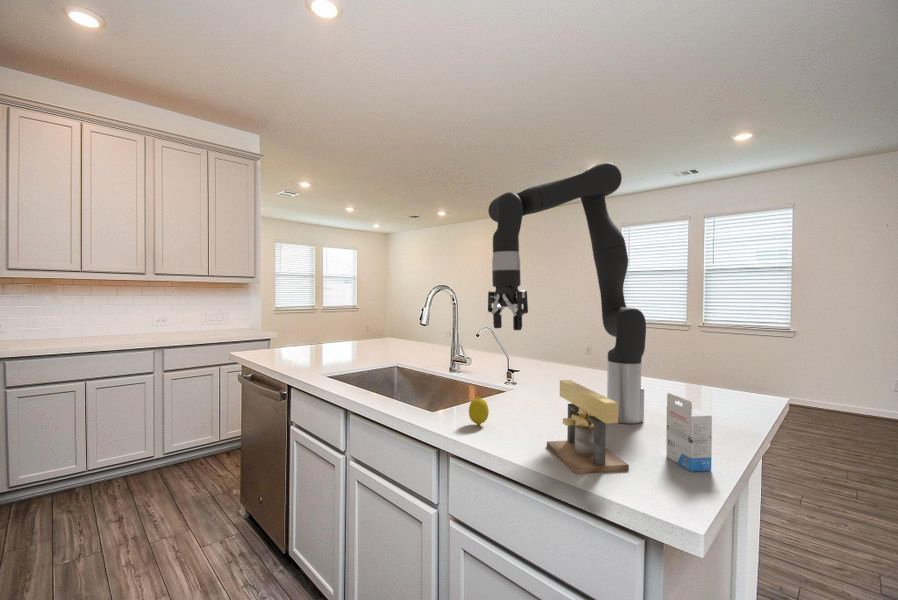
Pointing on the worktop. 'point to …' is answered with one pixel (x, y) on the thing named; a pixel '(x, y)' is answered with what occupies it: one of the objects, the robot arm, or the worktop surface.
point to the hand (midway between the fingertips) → (507, 329)
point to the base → (585, 460)
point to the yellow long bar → (587, 405)
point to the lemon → (478, 411)
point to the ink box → (688, 435)
